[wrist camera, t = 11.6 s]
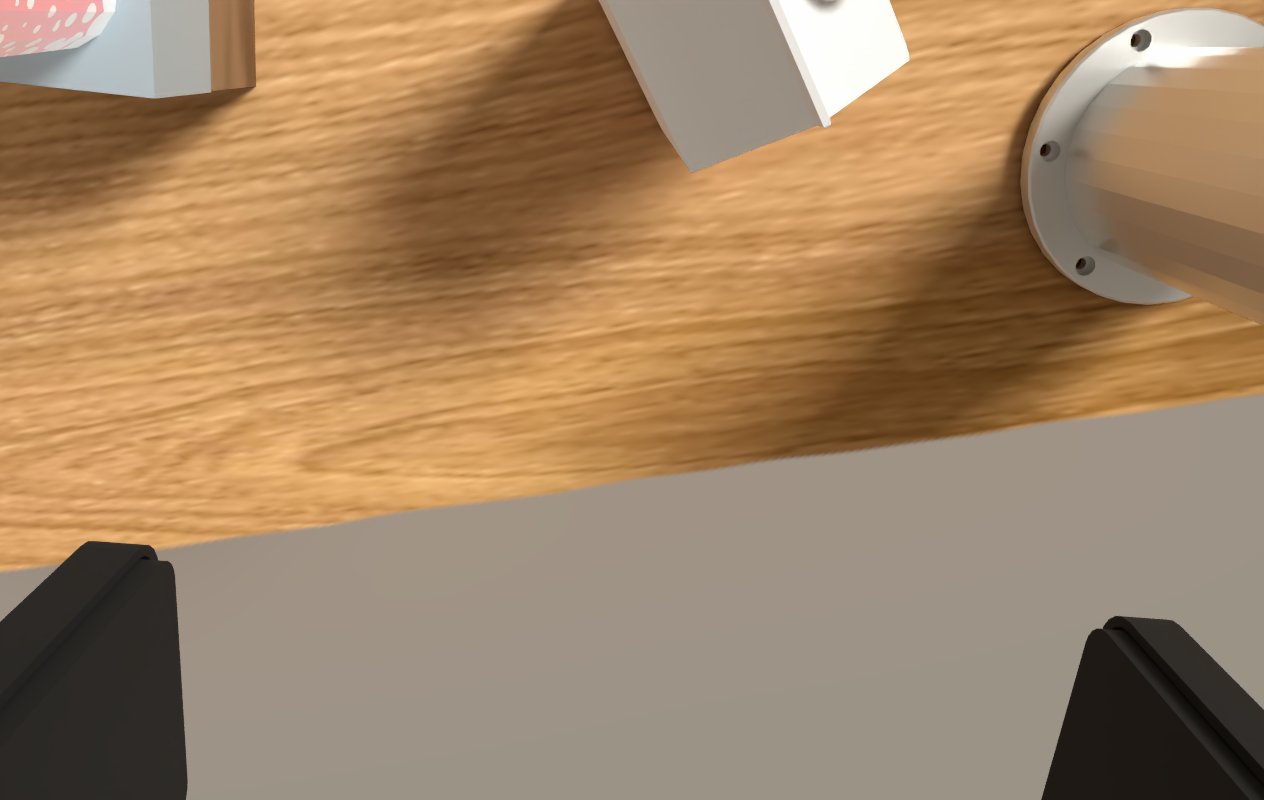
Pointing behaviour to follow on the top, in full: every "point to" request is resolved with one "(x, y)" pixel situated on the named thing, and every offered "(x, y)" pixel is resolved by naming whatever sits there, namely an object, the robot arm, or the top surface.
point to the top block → (129, 54)
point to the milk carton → (752, 66)
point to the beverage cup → (50, 24)
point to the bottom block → (232, 44)
